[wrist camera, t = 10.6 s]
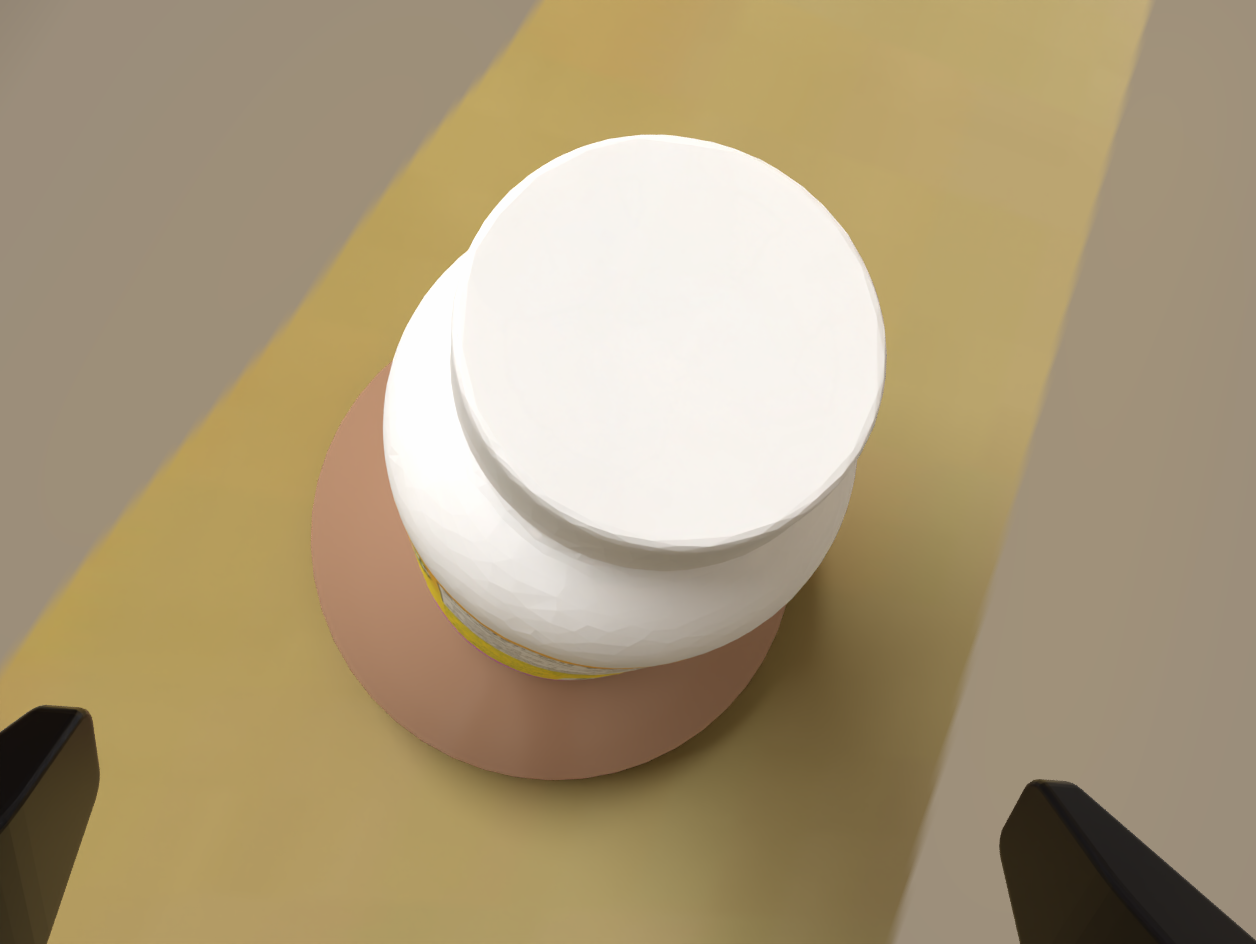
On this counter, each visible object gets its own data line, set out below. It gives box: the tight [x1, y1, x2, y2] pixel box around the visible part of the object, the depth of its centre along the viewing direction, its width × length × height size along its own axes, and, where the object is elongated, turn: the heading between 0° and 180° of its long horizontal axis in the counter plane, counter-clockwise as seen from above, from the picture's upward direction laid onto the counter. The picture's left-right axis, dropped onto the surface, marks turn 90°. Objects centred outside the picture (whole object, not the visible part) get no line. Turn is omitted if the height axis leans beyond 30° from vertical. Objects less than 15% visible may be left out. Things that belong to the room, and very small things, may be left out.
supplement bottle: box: [383, 135, 887, 680], centre depth 17 cm, size 7×7×13 cm
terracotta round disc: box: [311, 361, 786, 780], centre depth 23 cm, size 11×11×1 cm
